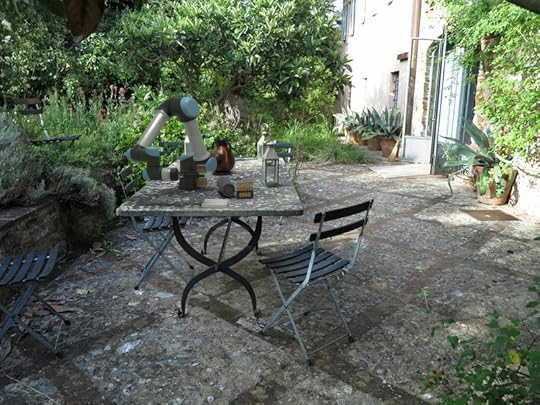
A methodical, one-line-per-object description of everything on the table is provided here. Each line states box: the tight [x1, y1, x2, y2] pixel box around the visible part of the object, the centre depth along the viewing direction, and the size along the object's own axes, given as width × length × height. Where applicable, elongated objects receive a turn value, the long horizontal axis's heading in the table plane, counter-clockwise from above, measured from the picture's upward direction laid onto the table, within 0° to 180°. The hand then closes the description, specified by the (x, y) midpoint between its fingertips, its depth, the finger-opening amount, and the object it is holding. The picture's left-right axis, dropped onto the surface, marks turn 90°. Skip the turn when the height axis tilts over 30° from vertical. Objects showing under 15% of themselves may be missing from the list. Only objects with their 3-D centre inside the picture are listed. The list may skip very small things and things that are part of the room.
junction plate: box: [201, 198, 230, 209], centre depth 266 cm, size 14×14×2 cm
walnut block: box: [196, 165, 208, 188], centre depth 261 cm, size 4×5×12 cm
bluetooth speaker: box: [216, 176, 236, 197], centre depth 291 cm, size 23×9×10 cm, turn 15°
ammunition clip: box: [235, 179, 255, 200], centre depth 280 cm, size 11×2×12 cm, turn 100°
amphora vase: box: [209, 137, 236, 176], centre depth 359 cm, size 22×22×28 cm
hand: (211, 174), depth 260 cm, fingers closed on walnut block, 4 cm apart
